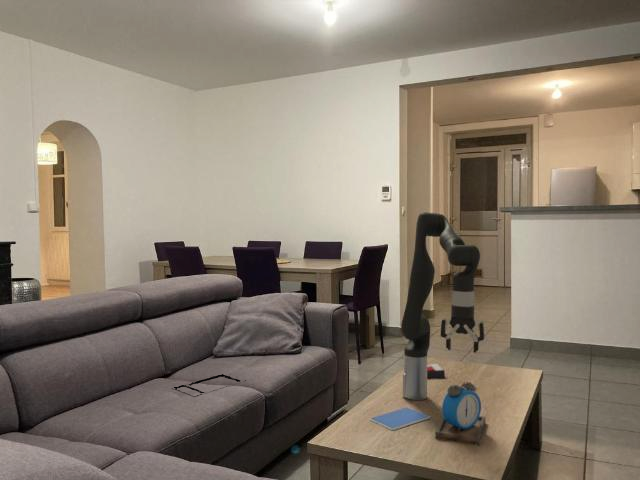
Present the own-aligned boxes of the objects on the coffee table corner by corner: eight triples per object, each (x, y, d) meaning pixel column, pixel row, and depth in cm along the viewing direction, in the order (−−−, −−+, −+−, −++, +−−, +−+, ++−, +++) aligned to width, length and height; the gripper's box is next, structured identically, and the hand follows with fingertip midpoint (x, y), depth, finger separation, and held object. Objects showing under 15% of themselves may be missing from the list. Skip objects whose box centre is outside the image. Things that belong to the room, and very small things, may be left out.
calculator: (406, 364, 253) (438, 362, 253) (407, 373, 253) (438, 371, 254) (412, 371, 242) (444, 369, 242) (412, 380, 242) (445, 378, 243)
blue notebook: (392, 432, 183) (392, 428, 183) (368, 421, 193) (368, 417, 193) (431, 420, 194) (431, 416, 194) (406, 409, 204) (406, 406, 204)
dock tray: (435, 438, 177) (435, 431, 176) (445, 417, 195) (445, 411, 195) (479, 445, 171) (479, 438, 171) (485, 423, 190) (485, 416, 190)
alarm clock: (454, 434, 177) (454, 389, 176) (441, 427, 182) (441, 384, 182) (481, 426, 184) (482, 383, 183) (467, 420, 189) (468, 378, 188)
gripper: (485, 303, 182) (484, 350, 182) (443, 300, 187) (442, 346, 188) (483, 307, 175) (482, 355, 176) (439, 304, 180) (438, 351, 181)
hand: (462, 350), depth 182 cm, fingers open, 8 cm apart
